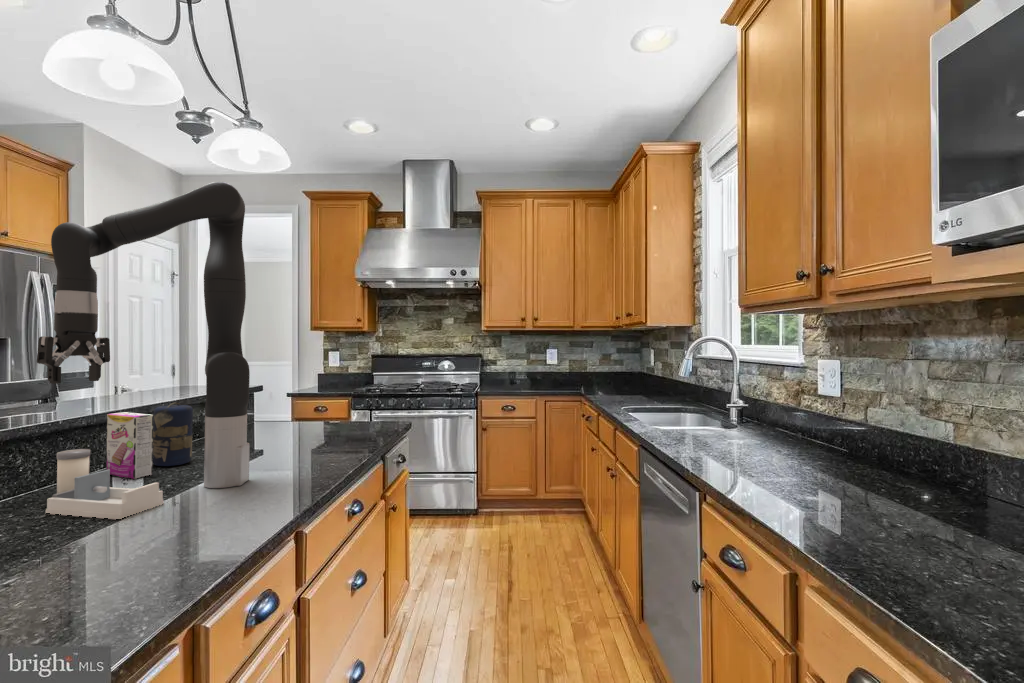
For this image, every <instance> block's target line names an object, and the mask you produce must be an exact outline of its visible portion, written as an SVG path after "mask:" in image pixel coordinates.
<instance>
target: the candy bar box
mask: <svg viewBox="0 0 1024 683" xmlns="http://www.w3.org/2000/svg"><path fill="white" fill-rule="evenodd" d="M153 420H154V414H148V413H137V412H131V411H130V412H127V411H124V412H115V413H107V414H106V465H105V466H106V469H105V470H110V475H112V477H116V476H119V477H118V478H123V477H125V479H130V478H131V480H132V479H133V480H137V478H139V479H141V478H140V477H143V478H145V476H146V477H150V476H152V475H153ZM149 475H150V476H149Z"/></svg>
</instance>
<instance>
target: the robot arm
mask: <svg viewBox="0 0 1024 683" xmlns="http://www.w3.org/2000/svg"><path fill="white" fill-rule="evenodd" d="M245 214H246V204H245V201H244V199H243V197H242V196H241V194H240V192H239V191H238V189H237V188H236V187H234V185H232V184H230V183H228V182H225V181H212V182H209V183H206V184H204V185H201V186H199V187H198V188H194V189H193V190H190V191H188V192H185V193H184V194H180V195H178V196H175V197H172V198H169V199H167V200H164V201H161V202H157V203H153V204H150V205H146V206H142V207H139V208H134V209H131V210H130V209H129V210H126V211H123V212H118V213H115V214H111V215H108V216H106V217H104V218H102V221H101V223H96V224H94V225H91V226H87V227H86V226H84V225H83V224H82V225H81V224H79V223H77V222H72V221H67V222H63V223H60V224H59V225H57V226H56V227H55V228H54V229H53V231H52V234H51V238H50V246H51V251H52V255H53V256H52V257H53V260H54V264H55V268H56V271H57V272H56V292H55V293H56V294H55V298H54V313H53V314H54V315H53V316H54V317H53V318H54V320H53V331H54V332H55V336H54V337H53V336H50V335H49V336H48V335H47V336H46V335H45V336H39V338H38V341H37V342H38V344H37V353H36V354H37V355H36V363H37V364H39V365H44V366H46V367H47V381H48V382H49V383H50V384H52V385H55V384H61V383H62V366H61V365H62V363H63V362H64V361H65V360H67V359H68V358H69V357H73V356H74V357H76V356H79V357H82V358H84V359H85V360H86V361H87V362H88V364H89V365H88V380H89V381H90V382H99V380H100V379H101V377H102V365H103V364H105V363H109V362H111V348H110V342H111V341H110V338H109V337H97V336H96V333H97V332H98V326H99V324H98V323H99V322H98V321H99V318H98V317H99V302H98V301H99V300H98V292H97V290H98V275H97V272H96V270H95V268H93V267H92V261H91V258H95V257H98V256H101V255H104V254H106V253H109V252H111V251H113V250H115V249H118V248H120V247H121V246H125V245H129V244H133V243H137V242H141V241H145V240H148V239H150V238H154V237H156V236H159V235H161V234H164V233H166V232H167V231H170V230H172V229H174V228H176V227H178V226H180V225H184V224H186V223H189V222H190V223H191V222H193V221H198V220H204V219H207V220H208V228H209V229H208V230H209V247H208V252H207V256H206V259H205V265H204V270H203V299H204V309H205V316H206V317H205V318H206V324H207V331H208V332H207V333H208V334H207V335H208V336H207V337H208V340H207V351H206V361H205V366H204V367H205V368H204V374H205V375H206V376H205V377H206V389H205V390H206V395H205V396H206V397H205V405H204V449H203V450H204V456H203V457H204V458H203V462H204V465H203V467H204V468H203V471H204V472H203V486H204V488H208V489H223V488H231V487H240V486H242V485H244V484H245V483H246V482H247V481H249V480H250V442H247V441H248V440H247V439H248V437H247V436H248V434H247V433H248V405H249V400H250V374H251V373H250V366H249V363H248V360H247V359H246V358H245V357H244V354H243V347H242V346H243V345H242V327H243V321H244V316H245V315H244V314H245V309H246V299H247V296H246V295H247V294H246V293H247V292H246V291H247V290H246V288H247V286H246V285H247V284H246V269H245V268H246V266H245V258H244V249H243V232H244V223H245V221H244V220H245ZM54 346H55V347H56V348H55V349H54ZM95 346H96V348H95Z"/></svg>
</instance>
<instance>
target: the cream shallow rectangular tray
mask: <svg viewBox="0 0 1024 683" xmlns="http://www.w3.org/2000/svg"><path fill="white" fill-rule="evenodd" d="M163 494H164V491H163V490H160V482H151V483H149V484H146V485H143V486H139V487H136V488H127V487H113V486H110V495H109V498H106V499H103V500H99V501H96V500H83V499H74V489H72V490H69V491H65V492H61V493H58V494H57V493H55V494H54V493H53V494H52V497H49V498H47V499H46V508H45V514H46V513H50V514H49V515H55V514H59V515H58V516H67V515H72V516H71V517H79V516H82V518H92V517H96V518H95V519H104V518H108V519H107V520H116V519H121V520H123V519H122V518H124V517H126V518H128V517H127V516H129V517H131V516H130V515H132V516H134V515H133V514H135V515H137V514H140V513H143V512H145V511H144V510H146V511H148V510H147V509H149V510H151V509H154V508H156V507H155V506H157V507H160V506H163V505H165V502H164V497H163V496H164V495H163ZM162 504H163V505H162ZM159 505H160V506H159ZM153 507H154V508H153ZM150 508H151V509H150ZM142 511H143V512H142ZM139 512H140V513H139ZM136 513H137V514H136ZM60 514H61V515H60ZM124 519H125V518H124Z"/></svg>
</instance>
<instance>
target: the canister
mask: <svg viewBox="0 0 1024 683" xmlns="http://www.w3.org/2000/svg"><path fill="white" fill-rule="evenodd" d="M193 411H194V410H193V407H192V406H191V405H186V404H181V403H178V402H172V403H170V404H169V405H160V406H157V407H155V408H154V410H153V451H152V465H155V466H157V467H173V466H180V465H184V464H185V465H186V464H187V463H189V462H191V461H192V458H193V422H194V421H193V420H194V418H193V415H194V414H193V413H194V412H193Z"/></svg>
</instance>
